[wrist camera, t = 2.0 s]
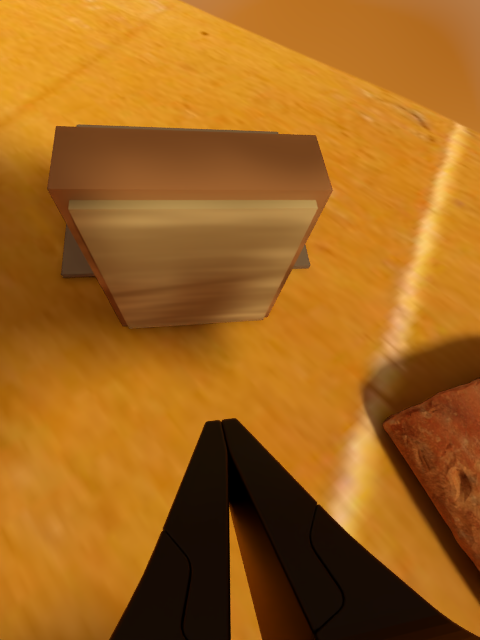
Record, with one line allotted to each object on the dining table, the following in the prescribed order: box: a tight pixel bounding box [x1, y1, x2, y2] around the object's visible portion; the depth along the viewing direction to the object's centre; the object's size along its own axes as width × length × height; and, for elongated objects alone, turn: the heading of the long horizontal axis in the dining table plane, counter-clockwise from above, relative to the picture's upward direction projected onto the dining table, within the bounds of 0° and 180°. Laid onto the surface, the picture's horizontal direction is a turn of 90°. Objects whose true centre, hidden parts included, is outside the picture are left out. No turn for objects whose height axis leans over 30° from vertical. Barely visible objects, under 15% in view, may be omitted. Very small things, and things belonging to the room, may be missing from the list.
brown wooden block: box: [47, 126, 333, 329], centre depth 17 cm, size 3×10×12 cm, turn 97°
